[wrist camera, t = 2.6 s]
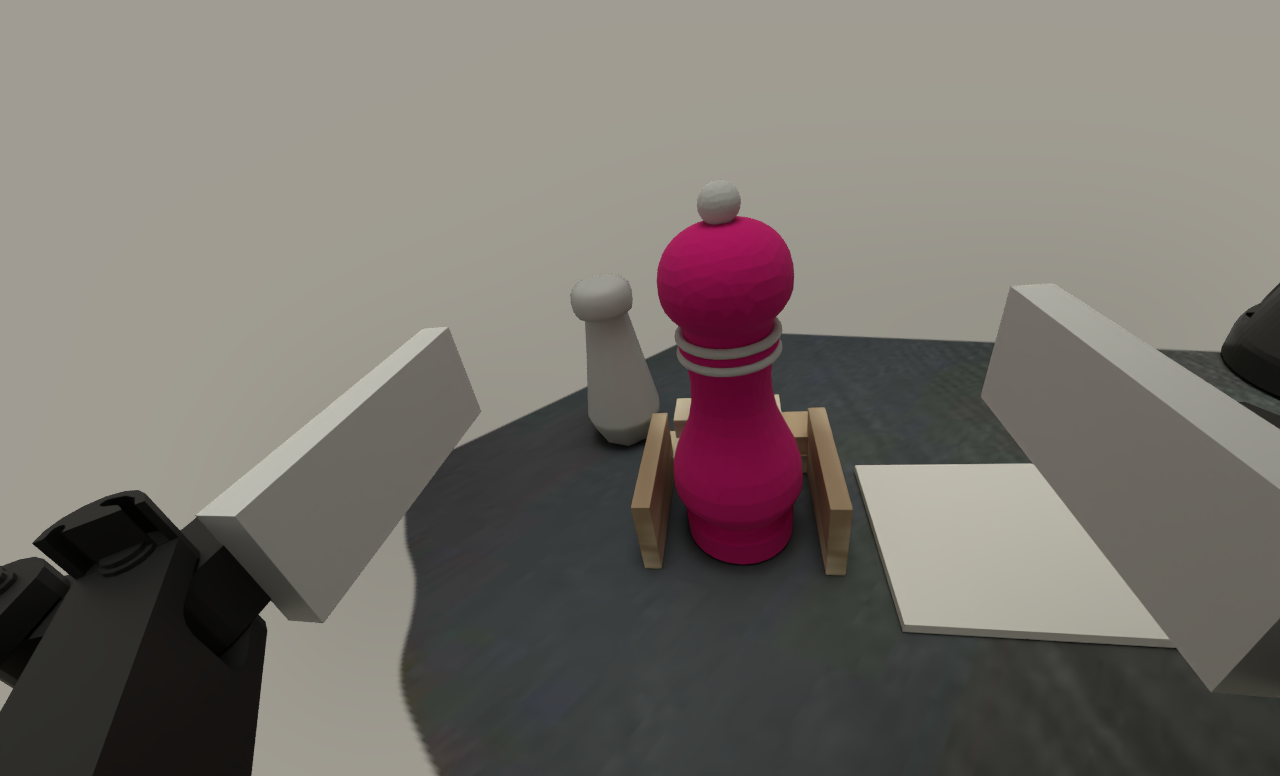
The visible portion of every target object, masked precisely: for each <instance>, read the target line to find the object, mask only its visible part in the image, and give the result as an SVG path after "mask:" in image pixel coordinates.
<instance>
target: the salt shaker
mask: <svg viewBox="0 0 1280 776" xmlns="http://www.w3.org/2000/svg"><path fill="white" fill-rule="evenodd" d="M570 296H571V305H572V308H573V311H574V313H575V315H576V316H577V317H578V318H579V319H580V320H583V321H585V329H586V347H587V348H586V349H587V381H588V416H589V418H590V420H591V421H592V423H593V424H594V426H595V427H596V428H597V430H598V431H599V432H600V433H601V434H602V435H603V436H604V437H605V438H606V439H607V441H608V442H610V443H616V444H621V445H627V446H630V445H632V444H635V443H637V442H639V441H641V440H644V439H646V438H647V436H648V431H649V427H650V423H651V418H652V414H653V413H659V396H658V393H657V390H656V388H655V385H654V382H653V380H652V377H651V374H650V372H649V369H648V366H647V363H646V361H645V358H644V356H643V353H642V351H641V348H640V345H639V342H638V339H637V337H636V334H635V331H634V328H633V326H632V323H631V320H630V318H629V315H628V311H629V310H630V309H631V308H632V290H631V287H630V284H629V282H628V281H627V280H626V279H625V278H623V277H622V276H620V275H617V274H600V275H596V276H592V277H589V278H586V279H584V280H581V281H580V282H578V283H577V284H576V285H575V286H574V287H573V289H572V291H571V295H570Z"/></svg>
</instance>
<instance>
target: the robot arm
mask: <svg viewBox="0 0 1280 776" xmlns="http://www.w3.org/2000/svg"><path fill="white" fill-rule="evenodd" d="M1221 352H1222V356H1223V358H1224V360H1225V362H1226V363H1227V364H1228V365H1229V366H1230V367H1231V368H1232V369H1233V370H1234V371H1235V372H1236V373H1238V374H1239V375H1240V376H1242V377H1243V378H1245V379H1246V380H1248V381H1249V382H1251V383H1253V384H1255V385H1256V386H1258V387H1260V388H1262V389H1264V390H1266V391H1268V392H1270V393H1272V394H1274V395H1277V396H1279V397H1280V283H1279V284H1278V285H1277V286H1276V287H1275V288H1274V289H1273V290H1272V291H1271V292H1270V293H1269V294H1268V295H1267V296H1266V297H1265V298H1264V299H1263V301H1262V302H1261V303H1260V304H1258V305H1255V306H1253V307H1251V308H1250V309H1248V310H1247V311H1246V312H1245V313H1244V314H1242V315H1241V316H1240V317H1239V318H1238V320H1237V321H1236V322H1235V324H1234V325H1233V327H1232V329H1231V331H1230V333H1229V335H1228V336H1227V338H1226V340H1225V342H1224V344H1223V346H1222V349H1221ZM981 397H982V399H983V400H984V401H985V402H986V404H987V405H988V406H989V408H990V409H991V410H992V411H993V413H994V414H995V415H996V417H997V418H998V419H999V420H1000V422H1001V423H1002V424H1003V426H1004V427H1005V428H1006V429H1007V431H1008V432H1009V433H1010V435H1011V436H1012V437H1013V438H1014V440H1015V441H1016V442H1017V444H1018V445H1019V446H1020V447H1021V449H1022V450H1023V451H1024V453H1025V454H1026V455H1027V456H1028V458H1029V459H1030V460H1031V462H1032V463H1033V464H1034V465H1035V467H1036V468H1037V469H1038V471H1039V472H1040V473H1041V474H1042V476H1043V477H1044V478H1045V480H1046V481H1047V482H1048V483H1049V485H1050V486H1051V487H1052V489H1053V490H1054V491H1055V492H1056V494H1057V495H1058V496H1059V498H1060V499H1061V500H1062V501H1063V503H1064V504H1065V505H1066V507H1067V508H1068V509H1069V510H1070V512H1071V513H1072V514H1073V516H1074V517H1075V518H1076V519H1077V521H1078V522H1079V523H1080V525H1081V526H1082V527H1083V528H1084V530H1085V531H1086V532H1087V534H1088V535H1089V536H1090V537H1091V539H1092V540H1093V541H1094V543H1095V544H1096V545H1097V546H1098V548H1099V549H1100V550H1101V552H1102V553H1103V554H1104V555H1105V557H1106V558H1107V559H1108V561H1109V562H1110V563H1111V564H1112V566H1113V567H1114V568H1115V570H1116V571H1117V572H1118V573H1119V575H1120V576H1121V577H1122V579H1123V580H1124V581H1125V582H1126V584H1127V585H1128V586H1129V588H1130V589H1131V590H1132V591H1133V593H1134V594H1135V595H1136V597H1137V598H1138V599H1139V600H1140V602H1141V603H1142V604H1143V606H1144V607H1145V608H1146V609H1147V611H1148V612H1149V613H1150V615H1151V616H1152V617H1153V618H1154V620H1155V621H1156V622H1157V624H1158V625H1159V626H1160V627H1161V629H1162V630H1163V631H1164V633H1165V634H1166V635H1167V636H1168V638H1169V639H1170V640H1171V642H1172V643H1173V644H1174V645H1175V647H1176V648H1177V649H1178V651H1179V652H1180V653H1181V654H1182V656H1183V657H1184V658H1185V660H1186V661H1187V662H1188V663H1189V665H1190V666H1191V667H1192V669H1193V670H1194V671H1195V672H1196V674H1197V675H1198V676H1199V678H1200V679H1201V680H1202V681H1203V683H1204V684H1205V685H1206V687H1207V688H1208V689H1209V690H1210V692H1212V693H1225V694H1237V695H1250V696H1263V697H1276V698H1280V416H1279V415H1276V414H1274V413H1271V412H1269V411H1266V410H1264V409H1261V408H1259V407H1256V406H1254V405H1251V404H1249V403H1246V402H1237V401H1235V400H1234V399H1232V398H1230V397H1229V396H1227V395H1226V394H1224V393H1223V392H1221V391H1220V390H1218V389H1216V388H1215V387H1213V386H1212V385H1210V384H1209V383H1207V382H1206V381H1204V380H1203V379H1201V378H1199V377H1198V376H1196V375H1195V374H1193V373H1192V372H1190V371H1189V370H1187V369H1185V368H1184V367H1182V366H1181V365H1179V364H1178V363H1176V362H1175V361H1173V360H1172V359H1170V358H1168V357H1167V356H1165V355H1164V354H1162V353H1161V352H1159V351H1158V350H1156V349H1154V348H1153V347H1151V346H1150V345H1148V344H1147V343H1145V342H1144V341H1142V340H1141V339H1139V338H1137V337H1136V336H1134V335H1132V334H1131V333H1130V332H1128V331H1126V330H1125V329H1123V328H1122V327H1120V326H1119V325H1117V324H1116V323H1114V322H1112V321H1111V320H1110V319H1108V318H1106V317H1105V316H1103V315H1101V314H1100V313H1099V312H1097V311H1096V310H1094V309H1092V308H1091V307H1089V306H1088V305H1086V304H1085V303H1083V302H1081V301H1080V300H1078V299H1077V298H1075V297H1074V296H1072V295H1071V294H1069V293H1067V292H1066V291H1065V290H1063V289H1061V288H1060V287H1058V286H1057V285H1055V284H1054V283H1047V284H1033V285H1019V286H1010V290H1009V293H1008V297H1007V301H1006V305H1005V308H1004V312H1003V316H1002V320H1001V323H1000V327H999V330H998V334H997V338H996V342H995V345H994V349H993V353H992V356H991V360H990V364H989V368H988V371H987V375H986V379H985V382H984V386H983V390H982V394H981ZM480 412H481V410H480V407H479V404H478V402H477V399H476V397H475V394H474V392H473V389H472V386H471V384H470V381H469V379H468V376H467V374H466V371H465V368H464V366H463V363H462V361H461V358H460V355H459V353H458V351H457V348H456V345H455V343H454V340H453V338H452V335H451V332H450V330H449V327H441V328H427V329H422V330H421V331H420V332H418V333H417V334H416V335H415V336H414V337H412V338H411V339H410V340H409V341H408V342H406V343H405V344H404V345H403V346H401V347H400V348H399V349H398V350H397V351H395V352H394V353H393V354H392V355H391V356H389V357H388V358H387V359H386V360H384V361H383V362H382V363H381V364H379V365H378V366H377V367H376V368H375V369H373V370H372V371H371V372H370V373H369V374H367V375H366V376H365V377H364V378H362V379H361V380H360V381H359V382H357V383H356V384H355V385H354V386H353V387H352V388H350V389H349V390H348V391H347V392H345V393H344V394H343V395H342V396H340V397H339V398H338V399H337V400H336V401H334V402H333V403H332V404H331V405H329V406H328V407H327V408H326V409H325V410H323V411H322V412H321V413H320V414H319V415H317V416H316V417H315V418H314V419H312V420H311V421H310V422H309V423H307V424H306V425H305V426H304V427H303V428H301V429H300V430H299V431H298V432H296V433H295V434H294V435H293V436H292V437H290V438H289V439H288V440H287V441H286V442H284V443H283V444H282V445H281V446H279V448H277V449H276V450H275V451H273V452H272V453H271V454H270V455H269V456H267V457H266V458H265V459H264V460H262V461H261V462H260V463H259V464H258V465H256V466H255V467H254V468H253V469H251V470H250V471H249V472H248V473H246V474H245V475H244V476H243V477H242V478H240V479H239V480H238V481H237V482H236V483H234V484H233V485H232V486H231V487H230V488H228V489H227V490H226V491H225V492H223V493H222V494H221V495H220V496H218V497H217V498H216V499H215V500H214V501H212V502H211V503H210V504H209V505H208V506H206V507H205V508H204V509H203V510H201V511H200V512H199V513H198V514H196V515H195V516H196V517H197V518H195V519H194V520H193V521H192V522H191V523H189V524H188V525H187V526H186V527H184V528H183V529H182V530H181V531H180V530H179V529H178V528H177V527H176V526H175V525H174V524H173V523H172V522H171V521H170V519H169V518H167V517H166V515H165V514H164V513H163V512H162V511H161V510H160V509H159V508H158V507H157V506H156V505H155V503H153V501H152V500H151V499H150V498H149V497H148V496H147V495H146V494H145V493H143V492H141V491H139V490H134V491H124V492H120V493H117V494H113V495H110V496H106V497H104V498H101V499H99V500H97V501H94V502H92V503H90V504H88V505H85V506H83V507H81V508H80V509H78V510H76V511H74V512H72V513H71V514H69V515H67V516H65V517H63V518H62V519H60V520H59V521H58V522H56V523H55V524H53V525H52V526H51V527H49V528H48V529H46V530H45V531H44V532H43V533H42V534H41V535H40V536H39V537H38V538H37V539H36V540H35V541H34V542H33V545H35V546H36V547H37V548H38V549H39V550H41V551H42V552H43V553H44V554H45V555H46V556H48V557H49V558H50V559H51V560H52V561H54V562H55V563H56V564H57V565H58V566H60V567H61V568H62V569H63V570H64V571H66V572H67V573H68V574H69V575H66V576H63V575H62V574H61V573H60V572H59V571H57V570H56V569H55V568H54V567H53V566H51V565H50V564H49V563H48V562H46V561H45V560H44V559H41V558H37V557H31V558H26V559H20V560H17V561H15V562H12V563H9V564H6V565H4V566H0V680H1V681H2V682H4V683H5V684H7V685H9V686H10V687H12V688H13V690H12V692H11V694H10V695H9V697H8V699H7V701H6V703H5V704H4V706H3V708H2V710H1V711H0V776H251V773H252V764H253V755H254V746H255V737H256V728H257V719H258V709H259V700H260V691H261V682H262V673H263V664H264V655H265V645H266V636H267V627H266V622H265V621H264V620H263V619H262V618H261V617H260V616H259V615H258V614H259V613H260V612H261V611H262V610H263V609H264V607H265V606H266V605H267V604H268V603H269V602H270V601H272V602H273V603H274V604H275V605H276V607H277V608H278V609H279V610H280V611H281V612H282V613H283V614H284V616H285V617H286V618H287V619H288V620H290V621H303V622H316V623H324V622H325V620H326V619H327V618H328V616H329V615H330V614H331V612H332V611H333V610H334V608H335V607H336V605H337V604H338V603H339V601H340V600H341V599H342V597H343V596H344V595H345V594H346V592H347V591H348V589H349V588H350V587H351V585H352V584H353V583H354V581H355V580H356V579H357V577H358V576H359V575H360V573H361V572H362V571H363V569H364V568H365V567H366V565H367V564H368V563H369V561H370V560H371V558H372V557H373V556H374V555H375V553H376V552H377V551H378V549H379V548H380V547H381V545H382V544H383V542H384V541H385V540H386V539H387V537H388V536H389V535H390V533H391V532H392V530H393V529H394V528H395V526H396V525H397V524H398V522H399V521H400V520H401V518H402V517H403V516H404V514H405V513H406V512H407V510H408V509H409V508H410V506H411V505H412V504H413V502H414V501H415V500H416V498H417V497H418V496H419V494H420V493H421V492H422V490H423V489H424V488H425V486H426V485H427V484H428V482H429V481H430V480H431V478H432V477H433V475H434V474H435V473H436V471H437V470H438V469H439V467H440V466H441V465H442V463H443V462H444V461H445V459H446V458H447V457H448V455H449V454H450V453H451V451H452V450H453V449H454V447H455V446H456V445H457V443H458V442H459V441H460V439H461V438H462V437H463V435H464V434H465V433H466V431H467V430H468V429H469V427H470V426H471V424H472V423H473V422H474V421H475V419H476V418H477V416H478V415H479V414H480Z"/></svg>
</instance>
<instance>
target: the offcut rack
mask: <svg viewBox="0 0 1280 776" xmlns="http://www.w3.org/2000/svg"><path fill="white" fill-rule="evenodd" d="M774 397H775V400H776V403H777V406H778V408H779V410H780V412H781V407H780V400H779V395H774ZM690 405H691V398H683V399H677V404H676V410H675V416H674V426H675V431H670V428H669V421H668V415H667V413H653V414H652V418H651V423H650V427H649V431H648V436H647V440H646V444H645V449H644V453H643V457H642V462H641V466H640V470H639V475H638V479H637V483H636V488H635V492H634V496H633V501H632V505H631V511H632V515H633V519H634V523H635V528H636V532H637V536H638V540H639V545H640V549H641V553H642V557H643V562H644V566H645V568H656V569H662V564H663V557H664V550H665V542H666V535H667V528H668V521H669V514H670V507H671V500H672V493H673V485H674V457H675V452H676V447H677V444H678V441H679V438H680V436H681V433H682V431H683V428H684V426H685V424H686V422H687V419H688V416H689V412H690ZM781 414H782V416H783V418H784V419H785V421H786V423H787V425H788V427H789V428H790V430H791V432H792V434H793V435H794V437H795V440H796V443H797V446H798V449H799V452H800V455H801V461H802V472H803V473H807V476H808V481H809V487H810V492H811V497H812V503H813V508H814V514H815V519H816V524H817V530H818V535H819V540H820V546H821V551H822V556H823V562H824V567H825V573H826V575H846V568H847V559H848V550H849V540H850V531H851V522H852V513H853V508H852V505H851V501H850V498H849V494H848V490H847V487H846V483H845V479H844V476H843V472H842V468H841V465H840V461H839V458H838V454H837V450H836V447H835V443H834V439H833V436H832V432H831V428H830V425H829V421H828V418H827V414H826V410H825V408H808V411H803V412H781Z"/></svg>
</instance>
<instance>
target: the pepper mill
mask: <svg viewBox="0 0 1280 776" xmlns="http://www.w3.org/2000/svg"><path fill="white" fill-rule="evenodd" d="M740 204H741V199H740V195H739V192H738V190H737V188H736V187H735V186H734V185H732V184H731V183H730V182H728V181H724V180H717V181H713V182H710V183H708V184H707V185H706V186H705V187H704V188H703V189H702V190H701V192H700V194H699V196H698V200H697V208H698V212H699V215H700V216H701V218H702V219H703V220H704V221H701V222H698V223H696V224H694V225H691V226H690V227H688V228H686V229H685V230H683V231H682V232H680V233H679V234H678V235H677V236H676V237H675V238H673V240H672V241H671V242H670V243H669V244H668V246H667V247H666V249H665V250H664V252H663V254H662V257H661V260H660V262H659V266H658V272H657V288H658V296H659V300H660V303H661V306H662V308H663V309H664V312H665V313H666V314H667V315H668V317H669V318H670V319H671V320H672V321H673V322H675V323H676V324H677V325H678V328H677V329H676V331H675V341H676V343H677V345H678V349H677V357H678V360H679V361H680V363H681V364H682V365H683V366H684V367H685V368H687V369H688V372H689V377H690V382H691V405H690V412H689V416H688V419H687V422H686V424H685V426H684V428H683V431H682V433H681V436H680V438H679V441H678V444H677V447H676V452H675V457H674V482H675V487H676V490H677V492H678V495H679V497H680V499H681V500H682V501H683V503H684V504H685V505H686V507H687V513H688V519H689V525H690V531H691V534H692V537H693V538H694V540H695V542H696V543H697V544H698V546H699V547H700V548H701V549H702V550H703V551H704V552H706V553H707V554H709V555H711V556H712V557H714V558H716V559H719V560H721V561H724V562H728V563H735V564H742V565H743V564H753V563H759V562H762V561H765V560H767V559H770V558H771V557H773V556H775V555H776V554H778V553H779V552H780V551H781V550H782V549H783V548H784V547H785V546H786V544H787V543H788V541H789V539H790V537H791V534H792V529H793V504H794V503H795V502H796V500H797V498H798V496H799V494H800V492H801V488H802V483H803V472H802V461H801V455H800V452H799V449H798V446H797V443H796V440H795V437H794V435H793V434H792V432H791V430H790V428H789V427H788V425H787V423H786V421H785V419H784V418H783V416H782V414H781V412H780V410H779V408H778V406H777V403H776V400H775V397H774V393H773V389H772V379H771V369H772V363H773V362H774V361H775V360H776V359H777V358H778V357H779V355H780V354H781V351H782V342H781V339H780V336H781V334H782V325H781V322H780V321H779V320H778V318H777V317H776V316H777V315H778V314H779V313H780V312H781V311H782V310H783V309H784V307H785V305H786V304H787V302H788V300H789V299H790V296H791V294H792V291H793V284H794V269H793V262H792V258H791V254H790V251H789V249H788V247H787V245H786V243H785V241H784V240H783V239H782V237H781V236H780V235H779V234H778V233H777V232H776V231H775V230H774V229H773V228H771V227H770V226H768V225H766V224H765V223H763V222H761V221H758V220H755V219H751V218H748V217H739V216H736V215H737V214H738V212H739V209H740Z"/></svg>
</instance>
